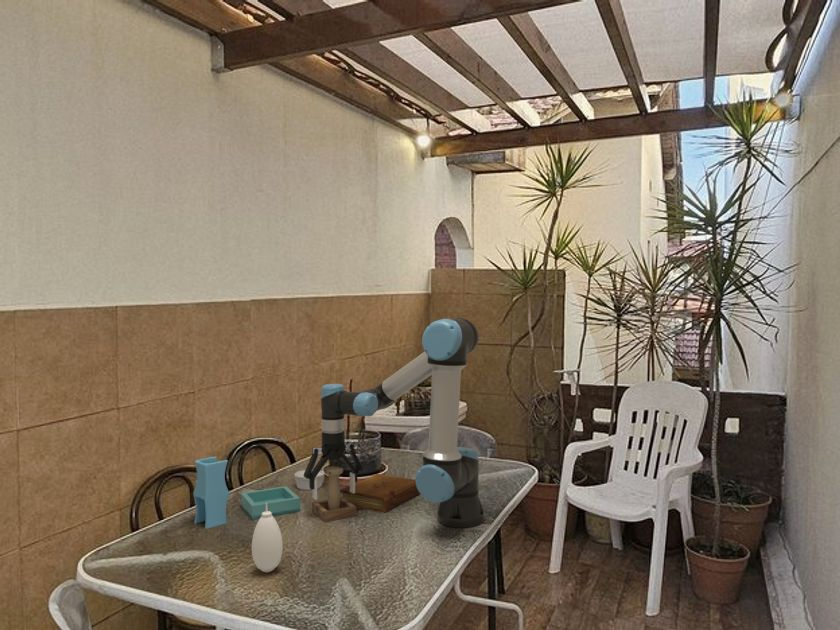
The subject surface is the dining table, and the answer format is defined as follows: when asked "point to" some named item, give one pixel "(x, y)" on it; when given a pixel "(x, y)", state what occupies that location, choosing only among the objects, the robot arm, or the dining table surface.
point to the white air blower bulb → (267, 543)
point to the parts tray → (270, 502)
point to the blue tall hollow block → (211, 492)
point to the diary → (381, 492)
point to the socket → (336, 514)
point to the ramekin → (307, 480)
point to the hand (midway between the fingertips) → (333, 495)
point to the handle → (333, 486)
